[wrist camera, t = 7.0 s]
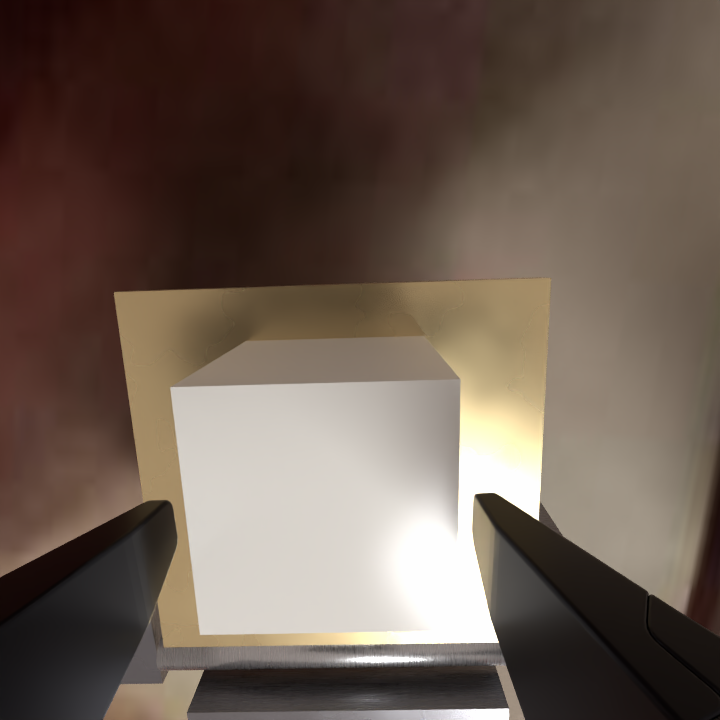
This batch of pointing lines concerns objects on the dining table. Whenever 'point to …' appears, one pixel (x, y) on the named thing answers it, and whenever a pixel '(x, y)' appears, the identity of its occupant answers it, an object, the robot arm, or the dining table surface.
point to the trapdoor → (476, 475)
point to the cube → (322, 486)
